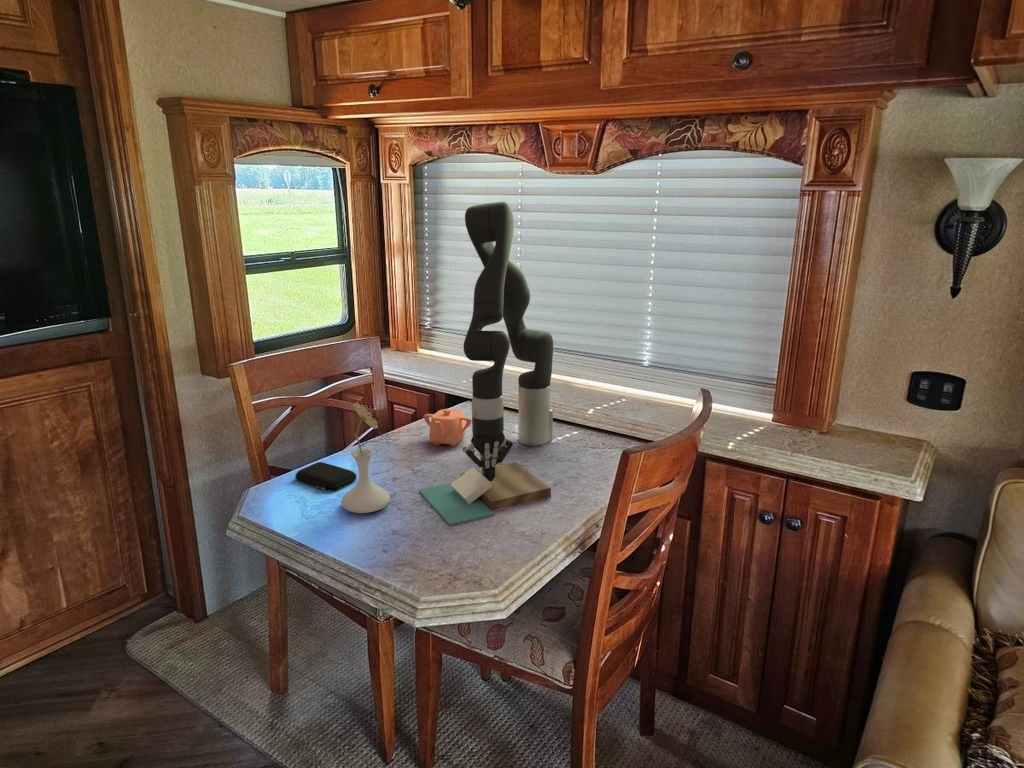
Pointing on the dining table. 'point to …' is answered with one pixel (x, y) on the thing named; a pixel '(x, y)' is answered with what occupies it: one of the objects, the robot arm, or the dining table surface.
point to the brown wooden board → (513, 487)
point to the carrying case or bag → (325, 476)
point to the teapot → (447, 426)
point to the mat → (454, 505)
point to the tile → (471, 485)
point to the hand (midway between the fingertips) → (488, 480)
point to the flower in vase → (364, 477)
